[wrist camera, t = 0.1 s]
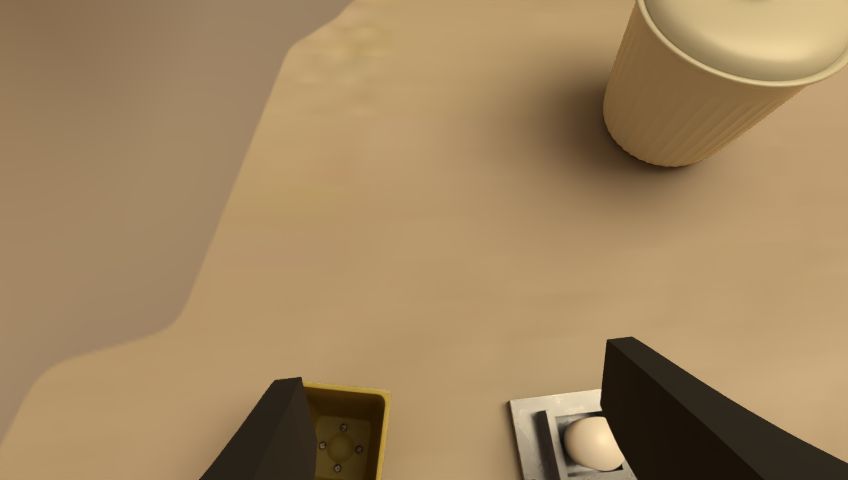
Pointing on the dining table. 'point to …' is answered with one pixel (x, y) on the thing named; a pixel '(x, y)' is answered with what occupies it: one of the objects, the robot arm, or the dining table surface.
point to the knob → (592, 444)
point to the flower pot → (349, 429)
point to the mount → (556, 436)
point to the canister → (715, 70)
